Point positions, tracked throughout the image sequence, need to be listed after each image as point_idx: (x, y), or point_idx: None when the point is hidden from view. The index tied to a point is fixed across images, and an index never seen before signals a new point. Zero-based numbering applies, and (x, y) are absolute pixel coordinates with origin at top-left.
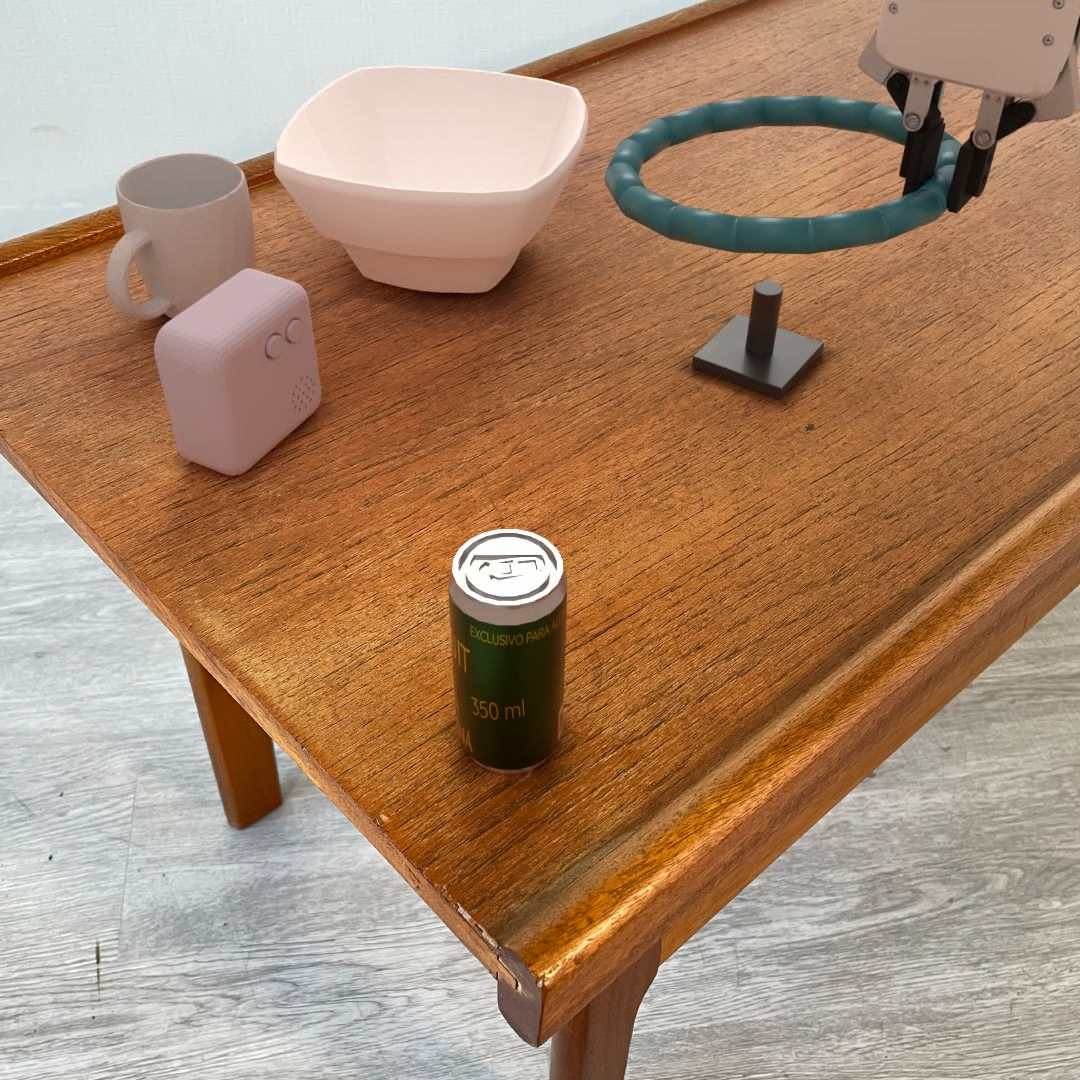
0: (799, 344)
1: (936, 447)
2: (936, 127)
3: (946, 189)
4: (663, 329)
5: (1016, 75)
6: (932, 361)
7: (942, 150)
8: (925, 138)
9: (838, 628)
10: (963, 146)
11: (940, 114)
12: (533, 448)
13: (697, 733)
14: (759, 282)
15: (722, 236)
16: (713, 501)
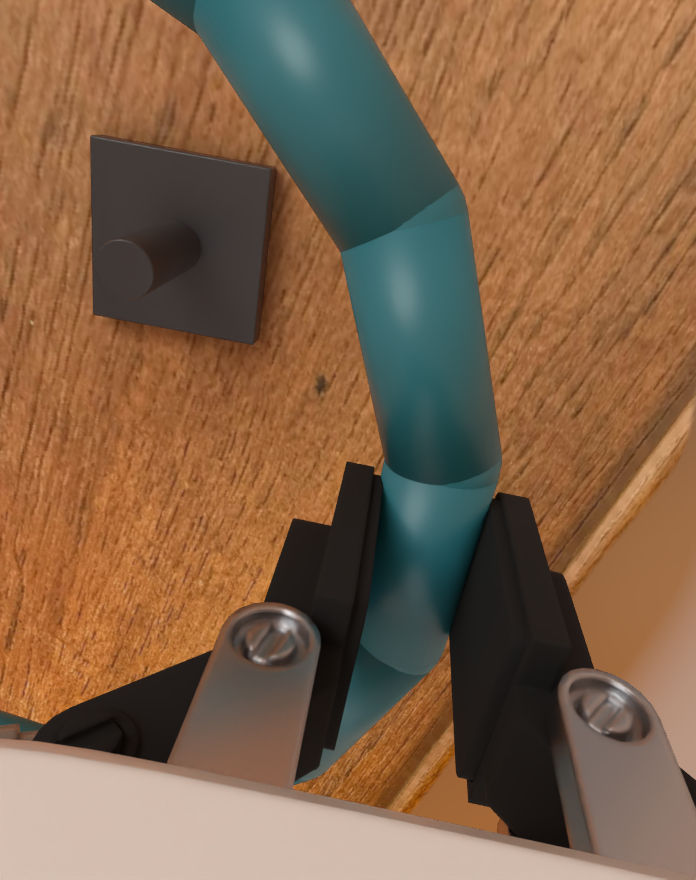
0: (232, 196)
1: (510, 359)
2: (341, 669)
3: (440, 622)
4: (5, 213)
5: None
6: (477, 88)
7: (378, 331)
8: (323, 748)
9: (441, 684)
10: (469, 801)
11: (336, 687)
12: (33, 550)
13: (357, 798)
14: (99, 257)
15: None
16: (260, 564)
